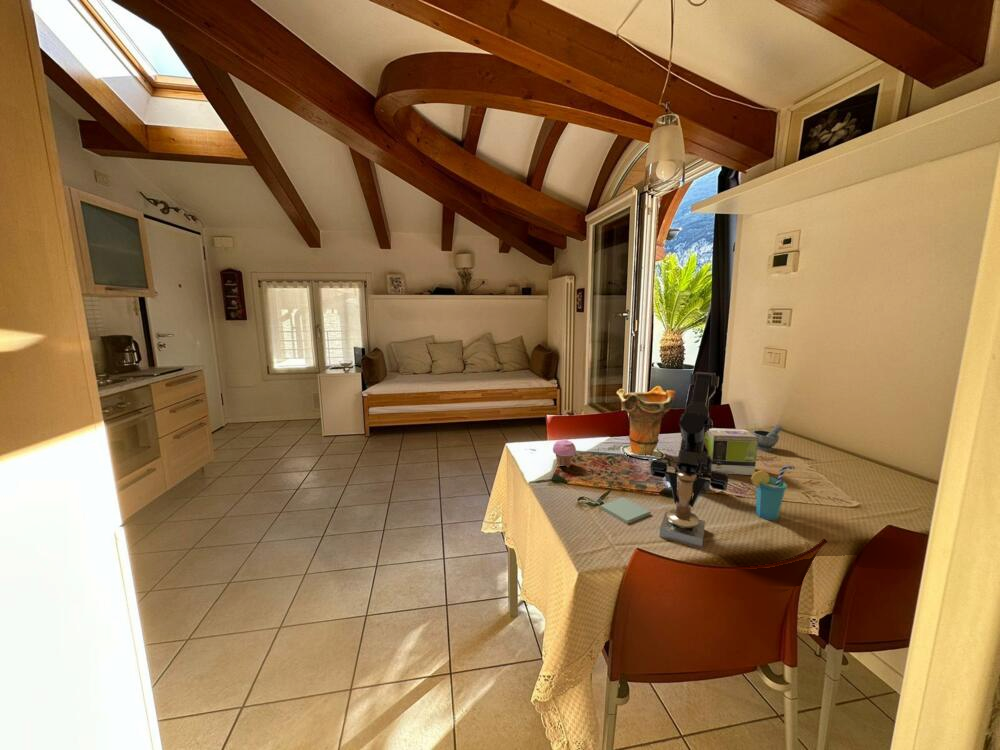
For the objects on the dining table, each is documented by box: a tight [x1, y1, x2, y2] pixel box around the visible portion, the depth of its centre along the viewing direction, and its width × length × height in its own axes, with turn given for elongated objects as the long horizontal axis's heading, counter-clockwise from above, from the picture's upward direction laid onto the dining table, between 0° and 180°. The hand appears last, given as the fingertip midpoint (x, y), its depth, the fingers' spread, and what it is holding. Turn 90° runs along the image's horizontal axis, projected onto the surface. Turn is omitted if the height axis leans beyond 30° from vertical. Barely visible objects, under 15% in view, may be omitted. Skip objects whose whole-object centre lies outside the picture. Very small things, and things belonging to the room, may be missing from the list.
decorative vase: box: [616, 385, 677, 458], centre depth 165 cm, size 21×23×28 cm
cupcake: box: [552, 439, 577, 467], centre depth 152 cm, size 9×9×10 cm
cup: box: [750, 465, 795, 522], centre depth 116 cm, size 14×8×15 cm, turn 107°
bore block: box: [658, 511, 706, 549], centre depth 107 cm, size 10×10×3 cm
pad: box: [599, 497, 652, 525], centre depth 118 cm, size 10×10×2 cm
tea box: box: [704, 427, 758, 476], centre depth 150 cm, size 15×10×15 cm
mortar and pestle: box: [751, 424, 784, 453], centre depth 171 cm, size 11×9×12 cm
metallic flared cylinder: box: [666, 470, 700, 531], centre depth 106 cm, size 8×8×16 cm
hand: (683, 504), depth 105 cm, fingers closed on metallic flared cylinder, 4 cm apart
